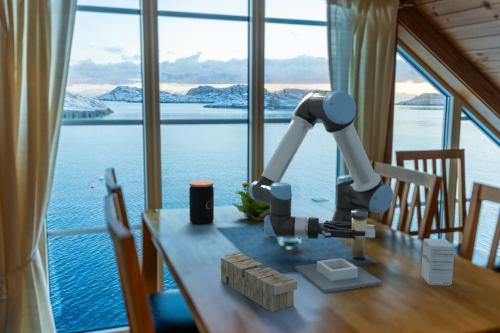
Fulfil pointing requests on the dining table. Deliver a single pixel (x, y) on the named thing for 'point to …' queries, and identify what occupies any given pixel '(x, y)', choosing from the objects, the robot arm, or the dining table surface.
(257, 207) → the potted flower
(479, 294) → the dining table surface
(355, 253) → the lidded glass jar
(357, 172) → the robot arm
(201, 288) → the dining table surface
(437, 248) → the supplement box
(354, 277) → the socket plate
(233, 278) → the block tower
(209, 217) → the coffee jar
